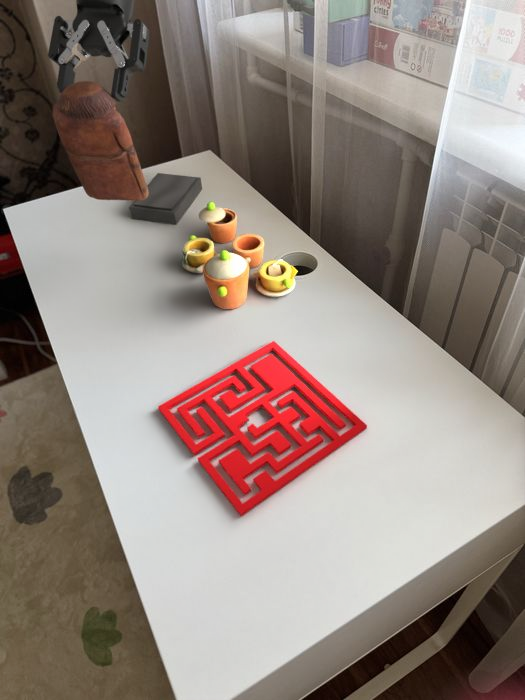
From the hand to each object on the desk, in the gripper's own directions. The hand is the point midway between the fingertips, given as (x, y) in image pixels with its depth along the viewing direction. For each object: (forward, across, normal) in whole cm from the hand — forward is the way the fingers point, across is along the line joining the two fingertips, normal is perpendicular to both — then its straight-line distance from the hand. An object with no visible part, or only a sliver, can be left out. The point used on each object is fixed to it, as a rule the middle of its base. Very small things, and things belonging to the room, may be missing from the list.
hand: (90, 97), depth 76 cm
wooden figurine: (+10, -1, +12) cm, 16 cm away
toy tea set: (+19, +17, +23) cm, 34 cm away
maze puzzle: (+40, +32, +2) cm, 51 cm away
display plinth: (+6, -3, +36) cm, 37 cm away
